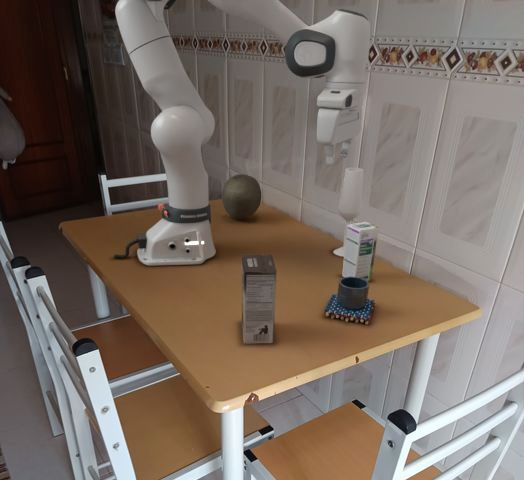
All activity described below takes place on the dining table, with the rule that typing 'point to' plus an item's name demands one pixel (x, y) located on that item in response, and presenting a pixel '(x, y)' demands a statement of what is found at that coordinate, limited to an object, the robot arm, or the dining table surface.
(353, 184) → the champagne flute
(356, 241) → the syrup box
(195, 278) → the dining table surface
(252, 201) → the cantaloupe
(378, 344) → the dining table surface
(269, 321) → the coffee box
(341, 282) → the cup
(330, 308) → the woven mat
